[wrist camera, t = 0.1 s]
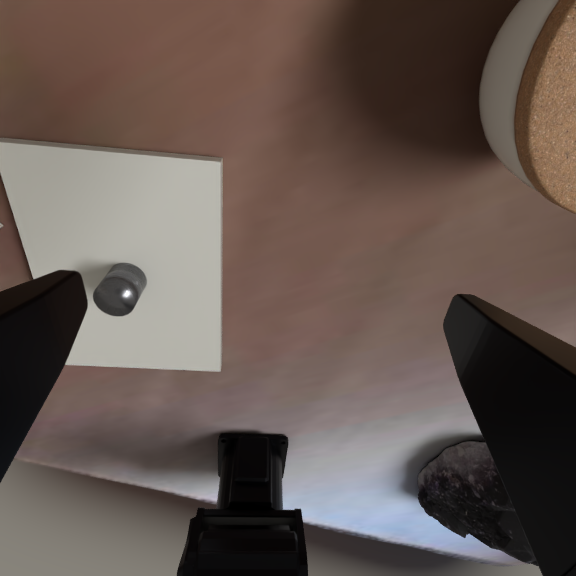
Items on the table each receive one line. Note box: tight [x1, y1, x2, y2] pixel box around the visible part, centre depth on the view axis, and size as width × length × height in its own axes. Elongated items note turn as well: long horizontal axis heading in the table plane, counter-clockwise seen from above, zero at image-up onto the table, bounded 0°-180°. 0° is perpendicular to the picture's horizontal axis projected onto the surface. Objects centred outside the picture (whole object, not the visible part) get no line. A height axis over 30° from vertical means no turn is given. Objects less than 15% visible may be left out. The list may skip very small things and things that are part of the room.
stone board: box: [0, 138, 223, 372], centre depth 25 cm, size 16×12×1 cm
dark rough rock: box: [418, 441, 538, 566], centre depth 36 cm, size 13×14×10 cm
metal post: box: [93, 263, 147, 316], centre depth 23 cm, size 2×2×2 cm
